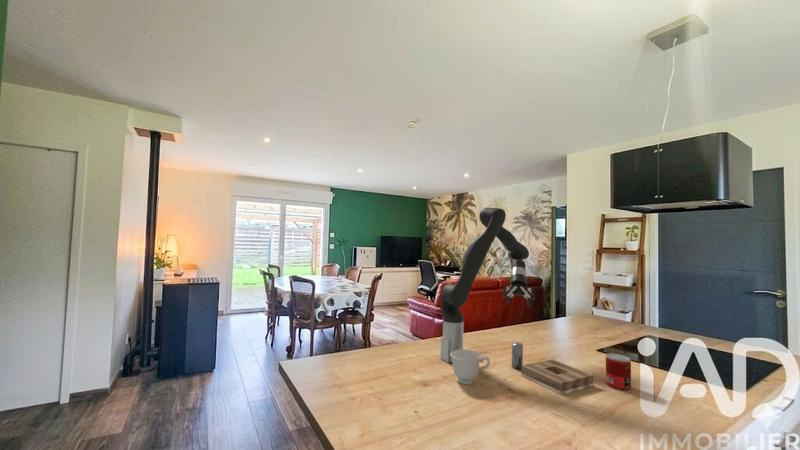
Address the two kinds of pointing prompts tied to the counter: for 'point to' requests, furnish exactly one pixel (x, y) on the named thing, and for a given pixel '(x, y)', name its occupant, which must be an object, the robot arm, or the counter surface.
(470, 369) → the teacup
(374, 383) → the counter surface
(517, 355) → the post
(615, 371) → the canned food
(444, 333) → the robot arm
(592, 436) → the counter surface
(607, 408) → the counter surface
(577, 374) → the socket base
